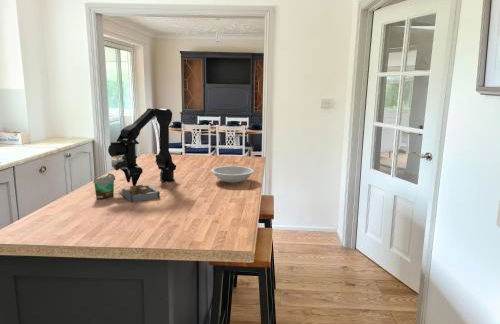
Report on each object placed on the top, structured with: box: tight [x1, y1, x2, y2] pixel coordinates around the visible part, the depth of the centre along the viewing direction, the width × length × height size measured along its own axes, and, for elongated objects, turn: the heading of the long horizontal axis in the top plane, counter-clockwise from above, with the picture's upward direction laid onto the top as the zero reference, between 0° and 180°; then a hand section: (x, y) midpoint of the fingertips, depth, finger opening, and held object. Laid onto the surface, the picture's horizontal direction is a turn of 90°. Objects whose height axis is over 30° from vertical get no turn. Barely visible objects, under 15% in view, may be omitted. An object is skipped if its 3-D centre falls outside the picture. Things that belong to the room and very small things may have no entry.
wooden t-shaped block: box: [129, 183, 150, 195], centre depth 172 cm, size 8×8×5 cm
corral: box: [121, 185, 161, 203], centre depth 173 cm, size 13×14×3 cm
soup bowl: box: [211, 165, 255, 184], centre depth 205 cm, size 24×24×7 cm
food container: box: [93, 172, 116, 200], centre depth 171 cm, size 12×6×10 cm, turn 168°
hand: (131, 184), depth 184 cm, fingers open, 9 cm apart
